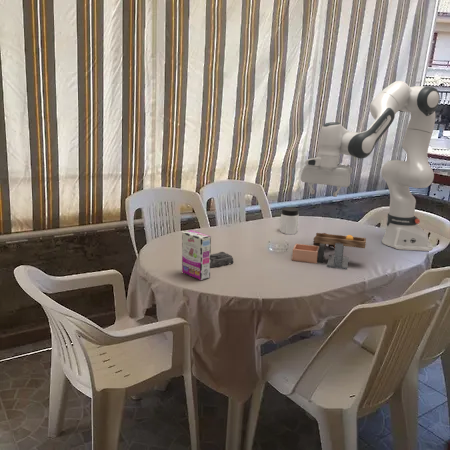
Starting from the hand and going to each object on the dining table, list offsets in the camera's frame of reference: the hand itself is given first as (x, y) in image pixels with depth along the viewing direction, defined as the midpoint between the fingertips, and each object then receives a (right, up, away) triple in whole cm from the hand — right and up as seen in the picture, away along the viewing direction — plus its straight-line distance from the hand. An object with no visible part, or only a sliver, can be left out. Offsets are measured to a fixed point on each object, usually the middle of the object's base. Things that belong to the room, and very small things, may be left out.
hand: (323, 195), depth 195 cm
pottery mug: (+4, -23, +16) cm, 29 cm away
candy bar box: (-52, -32, -20) cm, 64 cm away
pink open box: (-7, -27, +1) cm, 28 cm away
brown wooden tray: (+6, -20, -5) cm, 21 cm away
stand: (+4, -28, -2) cm, 28 cm away
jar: (-9, -16, +40) cm, 44 cm away
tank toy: (-45, -29, -6) cm, 53 cm away
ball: (+9, -18, -7) cm, 21 cm away
